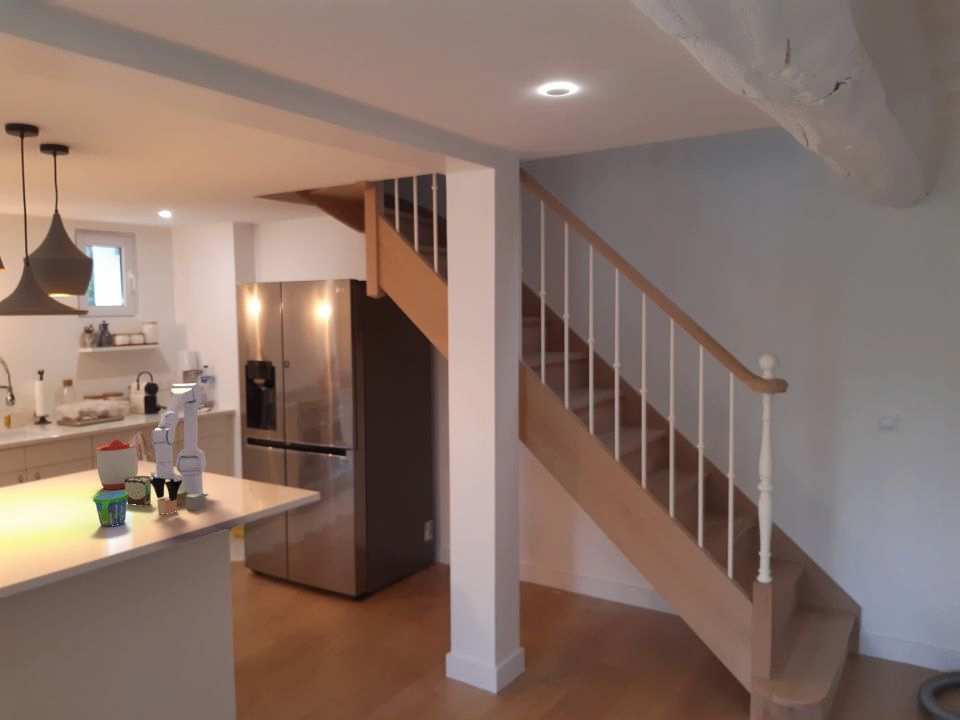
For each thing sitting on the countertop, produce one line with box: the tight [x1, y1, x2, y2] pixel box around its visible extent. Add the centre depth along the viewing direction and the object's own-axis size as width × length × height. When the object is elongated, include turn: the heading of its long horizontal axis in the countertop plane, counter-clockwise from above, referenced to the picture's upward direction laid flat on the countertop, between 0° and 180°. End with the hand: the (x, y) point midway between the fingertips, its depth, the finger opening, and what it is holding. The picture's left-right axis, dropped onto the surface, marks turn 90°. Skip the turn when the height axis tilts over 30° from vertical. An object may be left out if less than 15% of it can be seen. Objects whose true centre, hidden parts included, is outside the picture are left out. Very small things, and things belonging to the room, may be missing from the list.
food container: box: [123, 475, 153, 507], centre depth 276 cm, size 12×6×10 cm, turn 65°
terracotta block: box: [156, 496, 178, 515], centre depth 262 cm, size 4×4×5 cm
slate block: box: [185, 493, 206, 512], centre depth 266 cm, size 4×4×5 cm
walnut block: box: [176, 490, 188, 508], centre depth 272 cm, size 4×4×5 cm
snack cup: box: [92, 490, 128, 527], centre depth 250 cm, size 16×10×10 cm
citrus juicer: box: [95, 438, 141, 490], centre depth 305 cm, size 16×17×20 cm
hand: (166, 498), depth 262 cm, fingers open, 7 cm apart
